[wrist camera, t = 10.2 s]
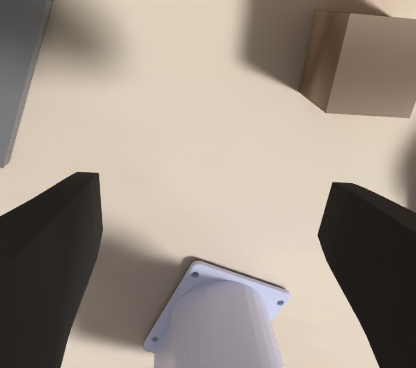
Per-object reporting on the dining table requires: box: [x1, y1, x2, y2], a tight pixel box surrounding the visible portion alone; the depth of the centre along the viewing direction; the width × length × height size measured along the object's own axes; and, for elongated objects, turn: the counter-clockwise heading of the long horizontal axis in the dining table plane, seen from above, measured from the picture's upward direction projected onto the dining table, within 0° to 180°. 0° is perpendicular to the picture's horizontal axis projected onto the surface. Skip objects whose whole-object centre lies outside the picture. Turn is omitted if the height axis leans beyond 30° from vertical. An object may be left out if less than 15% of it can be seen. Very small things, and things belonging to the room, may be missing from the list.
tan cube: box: [299, 10, 416, 118], centre depth 16 cm, size 4×4×4 cm
